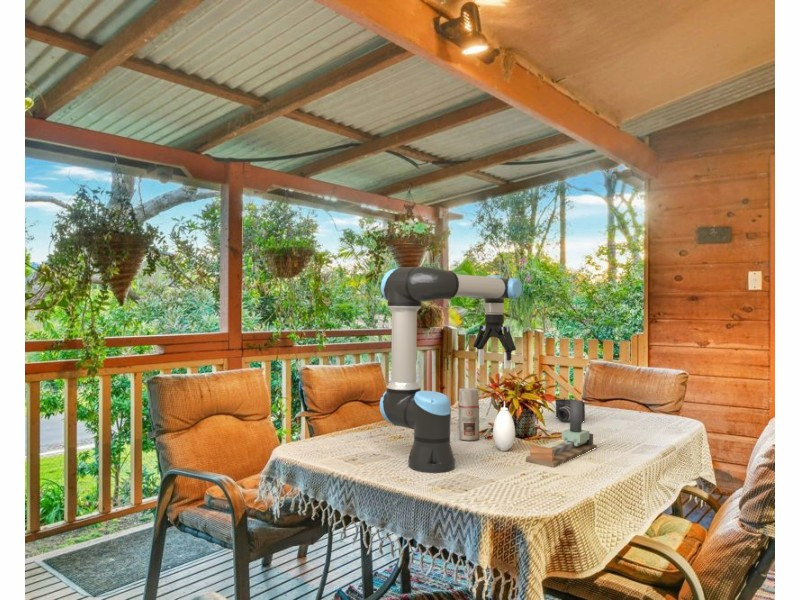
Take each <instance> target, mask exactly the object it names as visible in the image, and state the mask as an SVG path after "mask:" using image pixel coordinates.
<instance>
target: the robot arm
mask: <svg viewBox="0 0 800 600" xmlns="http://www.w3.org/2000/svg"><path fill="white" fill-rule="evenodd" d="M380 292H381V294H382V296H383V299H385V301H387V308H388V309H389V310H390V311H391V353H390V354H391V355H390V356H391V368H390V369H391V370H390V373H391V374H390V376H391V377H390V382H389V383H388V384H387V385H386V391H384V393H383V394H382V396H381V397H380V401H379V411H380V415H381V416H382V418H383V419H384V420H385V421H386V422H387V423H389V424H392V425H394V426H397V427H403V428H407V429H411V430H413V442H412V446H411V449H410V452H409V455H408V459H407V460H408V461H407V466H408V467H409V468H410V469H412V470H414V471H417V472H418V471H419V472H423V473H444V472H449V471H452V470H454V469H455V468H456V458H455V457H454V456H455V455H454V453H453V448H452V444H451V422H452V421H451V416H452V408H451V407H452V406H451V399H450V397H449V396H447V395H446V394H444V393H442V392H438V391H433V390H432V391H431V390H421V385H420V384H419V383H418V382H417V350H418V349H417V347H418V345H417V344H418V343H417V341H418V340H417V339H418V338H417V337H418V336H417V334H418V332H417V331H418V324H417V323H418V319H417V318H418V311H419V310H420V309H421V308H422V303H423V302H430V301H437V300H439V301H440V300H452V299H453V298H455V297H456V298H457V297H459V298H470V299H473V300H475V299H476V300H477V299H480V300H483V299H485V301H484V304H485V305H484V312H485V315H484V323H485V324H484V325H483V324H482V325H479V328H478V333H477V335H476V338H475V340H474V343H473V348H476V350H477V353H476V355H477V358H478V359H477V360H478V361H477V364H478V365H477V366H485V348H484V347H485V345H486V344H487V343H488V341H489V340H490V338H497V339H498V340H499V342H500V344H501V345H502V347H503V349H504V352H503V369H504V370H507V369H508V370H509V369H511V360H512V352H513V351H516V350H517V347H516V345H515V343H514V339H513V337H512V334H511V330H510V329H511V327H510V326H505V325H504V324H505V315H504V313H505V300H506V299H507V300H508V299H510V300H513V299H518V298H520V297H521V295H522V292H523V284H522V282H521V280H520V279H519V278H517V277H516V278H513V277H509V278H507V277H506V278H505V277H504V276H503V275H500V274H499V275H497V274H495V275H494V274H490V275H489V274H488V275H486V276H481V275H469V274H457V273H456V272H455V271H453V270H446V269H442V268H435V267H430V266H429V267H428V266H410V267H408V266H407V267H406V266H405V267H404V266H402V267H397V268H392V269H390V270H389V271H386V274H385V275H383V277H382V280H381V283H380Z"/></svg>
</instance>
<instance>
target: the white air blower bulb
mask: <svg viewBox="0 0 800 600" xmlns="http://www.w3.org/2000/svg"><path fill="white" fill-rule="evenodd" d="M515 427H516V426H515V422H514V418H513V416H512V414H511V413H510V411H509V408H508V407H506V401H505V400H504V401H503V407H500V411H499V412H498V413H497V414H496V417H495V419H494V423H493V427H492V438H493V441H494V444H495V446H496V447H497V448H498V449H499V450H500V451H501V452H507V451H509V449H510V448H512V447H513V445H514V443H515V439H516V428H515Z"/></svg>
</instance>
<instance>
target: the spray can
mask: <svg viewBox="0 0 800 600" xmlns="http://www.w3.org/2000/svg"><path fill="white" fill-rule="evenodd" d="M458 436H459V437H458V439H459V440H461V441H478V440H479V439H480V404H479V389H477V388H467V387H465V388H459V391H458Z"/></svg>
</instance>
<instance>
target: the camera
mask: <svg viewBox="0 0 800 600" xmlns="http://www.w3.org/2000/svg"><path fill="white" fill-rule="evenodd" d="M571 400H573V398H570V399H566V397H563V398H557V399H556V400H555V418H556V417H558V418H557V419H558V420H559V421H560V422H562V423H568V422H567V421H569V422H570V401H571ZM574 400H577V399H574ZM578 401H582V422H583V421H585V422H586V409H585V408H586V406H585V402H584V401H583V400H578Z"/></svg>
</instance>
